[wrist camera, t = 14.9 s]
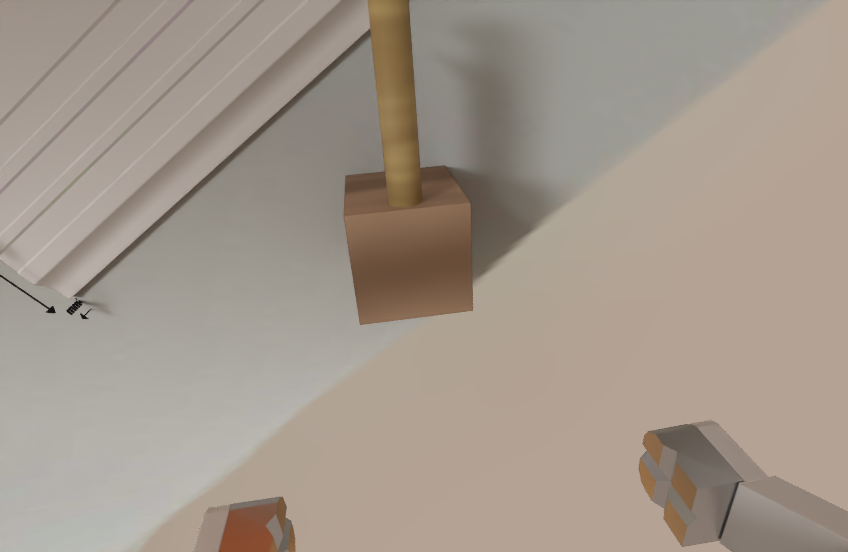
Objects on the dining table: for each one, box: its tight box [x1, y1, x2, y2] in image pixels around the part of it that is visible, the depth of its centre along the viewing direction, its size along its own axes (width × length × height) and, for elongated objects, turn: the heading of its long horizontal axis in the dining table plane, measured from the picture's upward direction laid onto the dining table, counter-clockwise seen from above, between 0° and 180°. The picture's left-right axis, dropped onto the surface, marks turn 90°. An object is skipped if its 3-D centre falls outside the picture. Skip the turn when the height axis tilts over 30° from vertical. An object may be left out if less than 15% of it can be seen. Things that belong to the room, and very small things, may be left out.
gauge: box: [344, 0, 473, 325], centre depth 21 cm, size 12×5×6 cm, turn 4°
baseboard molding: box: [0, 0, 370, 319], centre depth 19 cm, size 31×3×12 cm
